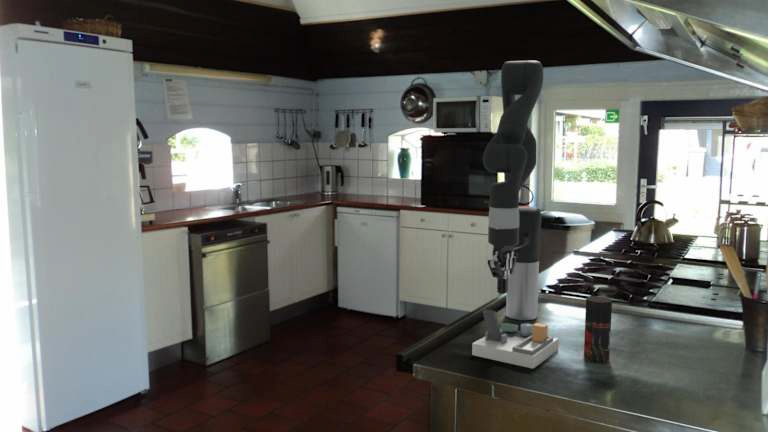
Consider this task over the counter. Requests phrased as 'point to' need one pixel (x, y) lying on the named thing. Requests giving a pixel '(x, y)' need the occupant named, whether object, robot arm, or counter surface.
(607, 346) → the deodorant
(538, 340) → the slider knob
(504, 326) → the block
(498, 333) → the paddle lever
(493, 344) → the panel
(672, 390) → the counter surface
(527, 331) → the push button
